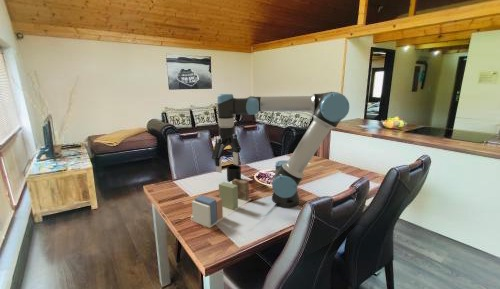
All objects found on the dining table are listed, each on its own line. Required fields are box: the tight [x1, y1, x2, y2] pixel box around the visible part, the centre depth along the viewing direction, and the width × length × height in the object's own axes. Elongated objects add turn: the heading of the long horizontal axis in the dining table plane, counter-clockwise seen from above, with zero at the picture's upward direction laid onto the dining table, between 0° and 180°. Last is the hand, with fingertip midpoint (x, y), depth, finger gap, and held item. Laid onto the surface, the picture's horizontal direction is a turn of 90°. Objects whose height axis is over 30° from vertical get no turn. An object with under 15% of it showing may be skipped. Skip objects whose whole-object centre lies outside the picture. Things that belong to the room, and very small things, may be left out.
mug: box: [226, 164, 242, 183], centre depth 170 cm, size 9×12×9 cm
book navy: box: [194, 194, 217, 225], centre depth 118 cm, size 9×4×11 cm, turn 57°
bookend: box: [231, 179, 250, 201], centre depth 141 cm, size 9×3×10 cm, turn 57°
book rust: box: [205, 194, 223, 220], centre depth 122 cm, size 8×4×10 cm, turn 57°
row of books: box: [190, 198, 252, 229], centre depth 129 cm, size 12×34×11 cm, turn 147°
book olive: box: [218, 181, 238, 210], centre depth 131 cm, size 9×4×12 cm, turn 57°
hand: (227, 168), depth 128 cm, fingers open, 13 cm apart
